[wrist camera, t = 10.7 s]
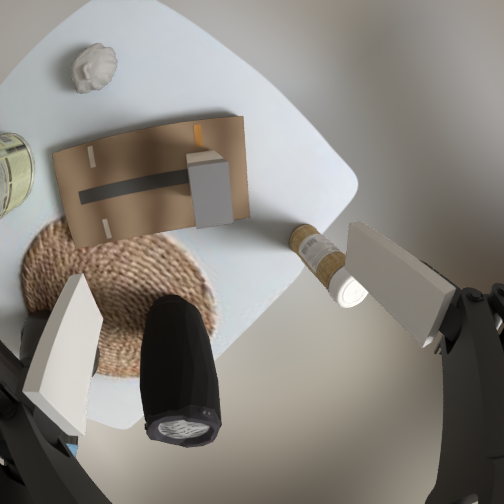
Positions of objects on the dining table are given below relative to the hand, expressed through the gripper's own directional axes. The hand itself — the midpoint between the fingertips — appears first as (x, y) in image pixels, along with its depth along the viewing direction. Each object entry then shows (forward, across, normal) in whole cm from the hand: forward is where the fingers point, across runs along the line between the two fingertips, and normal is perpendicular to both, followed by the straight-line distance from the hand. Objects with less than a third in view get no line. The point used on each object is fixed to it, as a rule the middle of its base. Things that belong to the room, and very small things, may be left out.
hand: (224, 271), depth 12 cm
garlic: (+21, -10, +15) cm, 28 cm away
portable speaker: (+21, -6, -19) cm, 29 cm away
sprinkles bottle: (+21, +14, -10) cm, 27 cm away
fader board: (+21, -5, +1) cm, 22 cm away
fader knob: (+19, +1, +1) cm, 19 cm away
